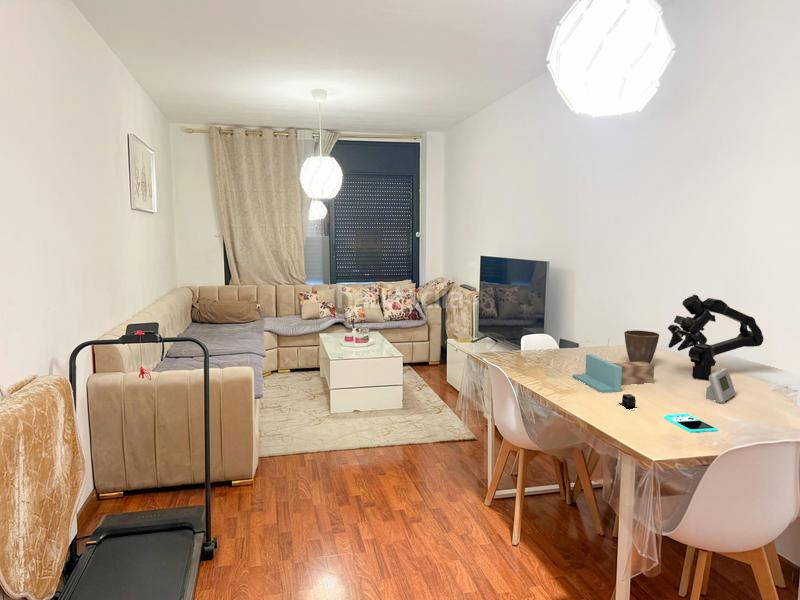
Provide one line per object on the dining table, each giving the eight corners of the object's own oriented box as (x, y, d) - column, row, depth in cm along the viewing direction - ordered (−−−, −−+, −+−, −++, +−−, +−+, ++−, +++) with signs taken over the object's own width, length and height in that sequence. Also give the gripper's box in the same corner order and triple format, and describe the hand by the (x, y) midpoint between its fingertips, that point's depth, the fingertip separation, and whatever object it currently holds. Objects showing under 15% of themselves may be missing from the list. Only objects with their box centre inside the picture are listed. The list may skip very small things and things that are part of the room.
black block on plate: (611, 403, 214) (611, 391, 214) (629, 402, 215) (629, 390, 214) (628, 413, 202) (628, 401, 201) (647, 412, 203) (648, 400, 202)
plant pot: (648, 362, 274) (650, 330, 272) (663, 370, 259) (665, 335, 257) (617, 363, 274) (619, 330, 272) (631, 371, 259) (632, 336, 257)
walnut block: (643, 379, 245) (644, 361, 244) (653, 383, 238) (654, 365, 237) (609, 381, 242) (609, 363, 241) (618, 385, 236) (619, 367, 235)
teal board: (590, 376, 250) (591, 354, 249) (620, 391, 227) (621, 367, 225) (572, 377, 249) (573, 354, 247) (601, 392, 225) (602, 368, 224)
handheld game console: (687, 416, 198) (687, 412, 198) (719, 432, 183) (719, 428, 182) (660, 418, 197) (660, 414, 197) (690, 434, 181) (690, 430, 181)
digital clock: (720, 405, 209) (722, 376, 208) (696, 399, 217) (698, 371, 215) (743, 398, 218) (745, 370, 217) (719, 392, 225) (721, 366, 224)
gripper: (672, 306, 250) (648, 332, 249) (702, 312, 232) (676, 340, 231) (687, 323, 252) (664, 348, 252) (718, 330, 234) (692, 358, 234)
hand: (673, 348), depth 242 cm, fingers open, 6 cm apart
